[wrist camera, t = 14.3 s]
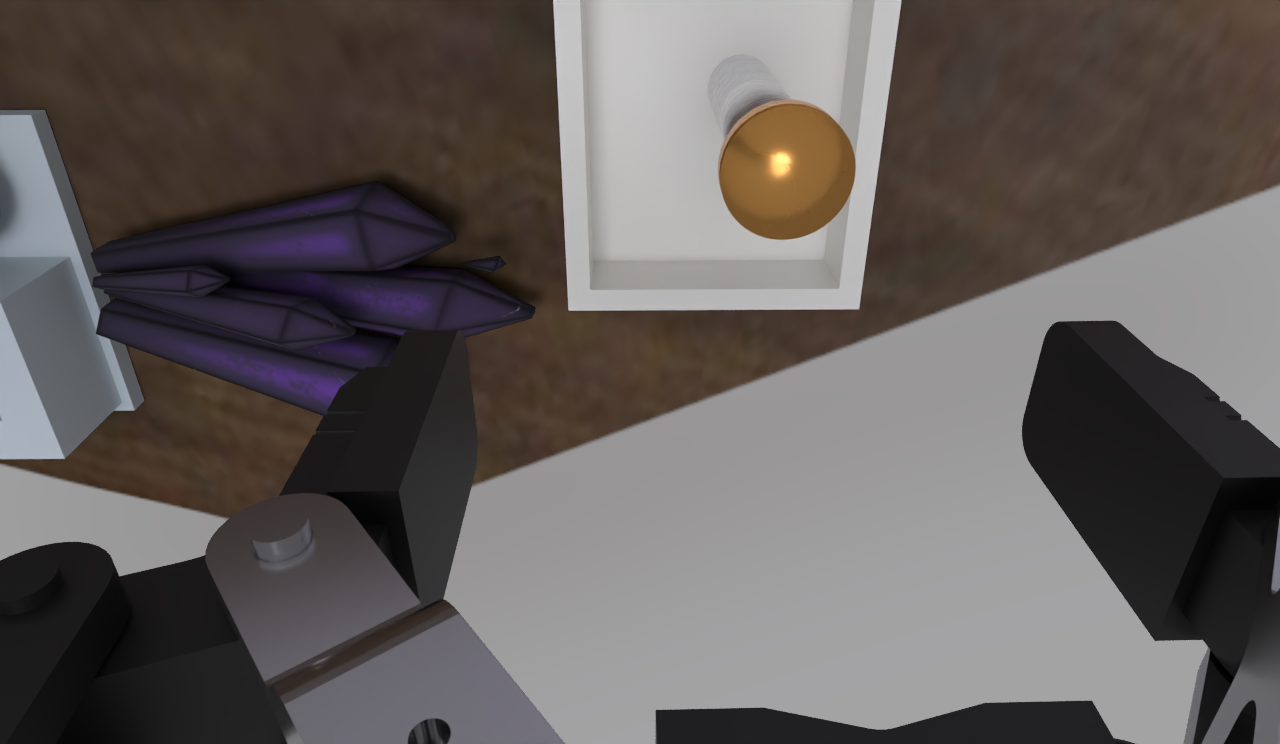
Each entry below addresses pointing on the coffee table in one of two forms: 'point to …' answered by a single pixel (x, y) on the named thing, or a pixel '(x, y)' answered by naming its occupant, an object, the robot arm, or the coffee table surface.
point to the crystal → (294, 291)
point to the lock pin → (777, 153)
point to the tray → (707, 149)
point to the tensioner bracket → (50, 305)
